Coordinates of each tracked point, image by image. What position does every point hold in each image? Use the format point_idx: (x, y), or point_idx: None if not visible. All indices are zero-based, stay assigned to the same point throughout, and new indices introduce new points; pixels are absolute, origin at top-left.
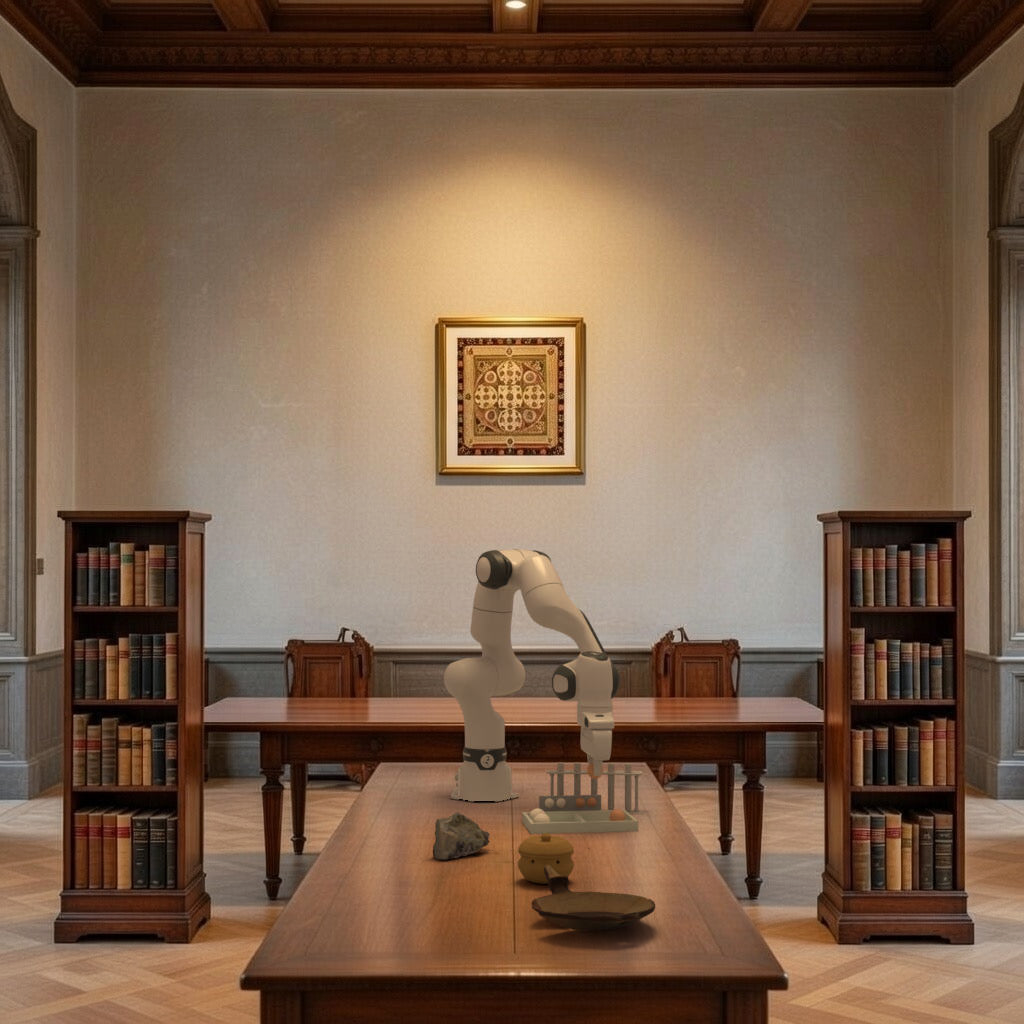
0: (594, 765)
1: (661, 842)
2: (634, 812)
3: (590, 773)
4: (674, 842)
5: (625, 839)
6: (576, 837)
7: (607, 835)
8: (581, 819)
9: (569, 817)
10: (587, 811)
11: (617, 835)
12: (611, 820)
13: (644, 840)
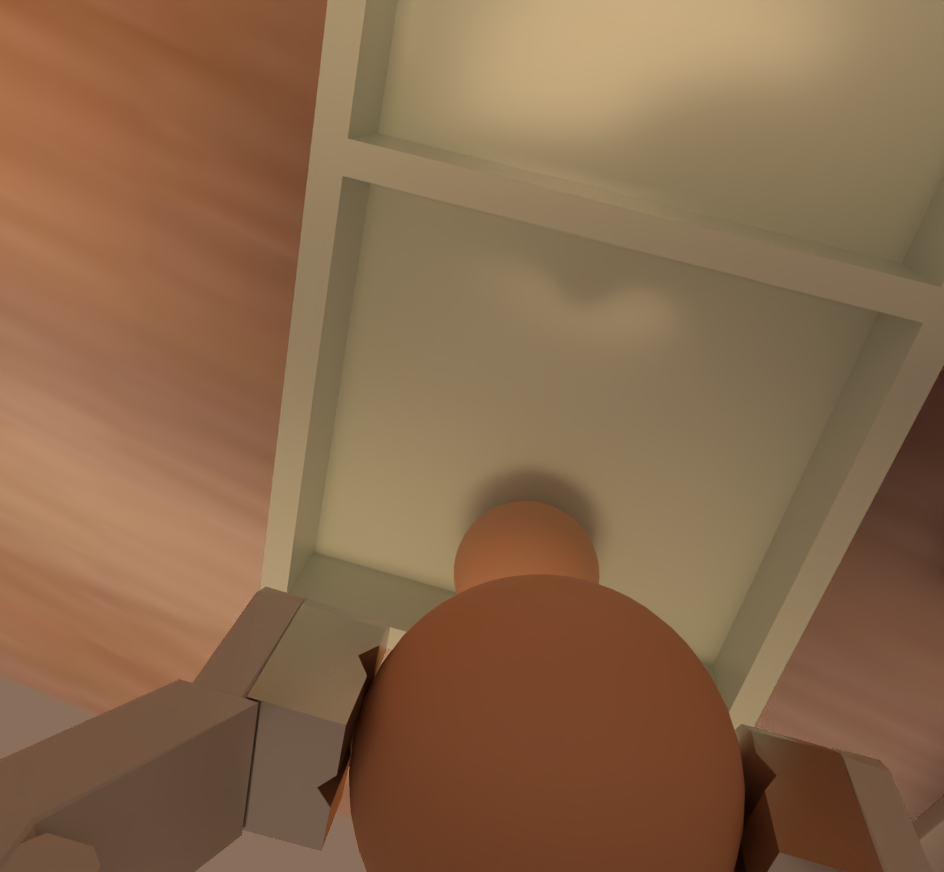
0: (72, 736)
1: (7, 545)
2: (935, 863)
3: (447, 600)
4: (3, 609)
5: (123, 382)
6: (267, 5)
7: (288, 323)
8: (467, 179)
9: (933, 233)
10: (862, 442)
11: (270, 395)
12: (510, 503)
13: (75, 483)
